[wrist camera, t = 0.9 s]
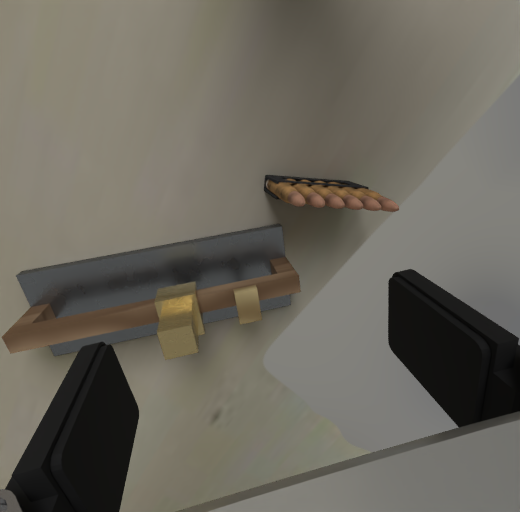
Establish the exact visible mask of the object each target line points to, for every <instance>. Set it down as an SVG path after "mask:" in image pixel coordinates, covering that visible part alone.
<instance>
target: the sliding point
mask: <svg viewBox="0 0 520 512" xmlns="http://www.w3.org/2000/svg"><path fill="white" fill-rule="evenodd" d="M154 303H155V307H156V310H157V313H158V317H159V325H158V329H157V335H158V338H159V341H160V345H161V348H162V351H163V354H164V357H165V360H167V359H172V358H176V357H181V356H185V355H189V354H194V353H198V335H203V334H205V328H204V324H203V313H201V311H200V307H199V303H198V299H197V286H196V281H194V282H189V283H184V284H179V285H174V286H169V287H164V288H159V289H158V290H157V294H156V298H155V302H154Z"/></svg>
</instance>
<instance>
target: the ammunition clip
mask: <svg viewBox="0 0 520 512" xmlns="http://www.w3.org/2000/svg"><path fill="white" fill-rule="evenodd" d="M264 191H265V192H267V193H268V194H270V195H271V196H272V197H274V198H275V199H282V200H283V201H284V202H286V203H290V204H292V205H295V206H299V207H301V206H304V205H305V204H309V205H311V206H313V207H317V208H321V207H324V206H325V205H327V206H330V207H332V208H336V209H341V208H343V207H347V208H349V209H354V210H359V209H362V208H364V209H366V210H372V211H377V210H380V209H381V210H383V211H390V212H394V211H398V210H399V207H398V205H397V204H396V203H395V202H393V201H392V200H390V199H388V198H385V197H383V196H381V195H380V194H379V193H377V192H374V191H371V190H368V187H366V186H362V185H359V184H356V183H353V182H350V181H340V180H326V179H313V178H300V177H286V176H273V175H266V176H265V185H264Z"/></svg>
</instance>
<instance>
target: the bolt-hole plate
mask: <svg viewBox="0 0 520 512" xmlns="http://www.w3.org/2000/svg"><path fill="white" fill-rule="evenodd" d="M282 257H285V249H284V240H283V232H282V226H281V225H280V224H276V225H270V226H265V227H259V228H254V229H249V230H243V231H238V232H232V233H227V234H221V235H216V236H211V237H205V238H200V239H194V240H189V241H184V242H178V243H173V244H167V245H162V246H156V247H151V248H146V249H140V250H135V251H129V252H124V253H119V254H113V255H108V256H102V257H97V258H91V259H86V260H81V261H75V262H70V263H64V264H59V265H54V266H48V267H43V268H37V269H32V270H26V271H22V272H20V273H19V274H18V275H16V277H17V279H18V281H19V283H20V285H21V287H22V289H23V291H24V294H25V296H26V298H27V300H28V302H29V304H30V306H31V307H34V306H39V305H44V304H49V303H50V306H51V308H52V310H53V312H54V315H55V317H56V319H57V318H61V317H66V316H71V315H76V314H81V313H86V312H91V311H96V310H101V309H106V308H111V307H116V306H120V305H125V304H130V303H135V302H140V301H145V300H150V299H155V298H156V294H157V290H158V289H159V288H164V287H169V286H174V285H179V284H184V283H189V282H194V281H196V286H197V290H199V289H204V288H209V287H214V286H219V285H224V284H228V283H233V282H238V281H243V280H248V279H253V278H258V277H263V276H268V275H272V272H271V265H270V260H272V259H277V258H282ZM259 304H260V310H261V311H265V310H269V309H274V308H279V307H283V306H288V305H291V302H290V294H289V295H284V296H279V297H275V298H270V299H265V300H260V301H259ZM237 316H238V311H237V306H232V307H227V308H223V309H218V310H213V311H209V312H204V313H203V324H205V323H209V322H214V321H219V320H223V319H228V318H232V317H237ZM158 325H159V322H157V323H152V324H148V325H143V326H138V327H133V328H129V329H124V330H119V331H115V332H110V333H105V334H100V335H96V336H91V337H86V338H82V339H77V340H72V341H68V342H63V343H58V344H53V345H49V346H50V348H51V350H52V352H53V354H54V356H57V355H62V354H66V353H71V352H76V351H80V349H81V348H82V347H83V346H85V345H90V344H94V343H98V342H104V343H105V344H106V345H108V344H112V343H117V342H122V341H126V340H131V339H136V338H140V337H145V336H149V335H154V334H157V329H158Z"/></svg>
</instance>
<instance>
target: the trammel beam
mask: <svg viewBox="0 0 520 512" xmlns="http://www.w3.org/2000/svg"><path fill="white" fill-rule="evenodd" d="M270 265H271V272H272V275H268V276H263V277H258V278H253V279H248V280H243V281H238V282H233V283H228V284H224V285H219V286H214V287H209V288H204V289H199V290H197V299H198V303H199V307H200V311H201V313H204V312H209V311H213V310H218V309H223V308H227V307H232V306H237V311H238V317H239V322H240V325H241V324H245V323H250V322H255V321H259V320H262V316H261V310H260V304H259V301H260V300H265V299H270V298H275V297H279V296H284V295H289V294H293V293H298V292H300V281H299V275H298V274H297V272H296V271H295V270H294V268H293V267H292V265H291V264H290V263H289V261H288V260H287V258H286V257H282V258H277V259H272V260H270ZM154 302H155V299H150V300H145V301H140V302H135V303H130V304H125V305H120V306H116V307H111V308H106V309H101V310H96V311H91V312H86V313H81V314H76V315H71V316H66V317H61V318H57V319H56V317H55V315H54V312H53V310H52V308H51V306H50V303H49V304H44V305H39V306H34V307H31V308H30V309H29V310H28V311H27V312H26V313H25V314H24V315H23V316H22V317H21V318H20V319H19V320H18V321H17V322H16V323H15V324H14V325H13V326H12V327H11V328H10V329H9V330H8V331H7V332H6V333H5V334H4V335H3V336H2V339H3V340H4V342H5V344H6V346H7V348H8V350H9V352H10V353H16V352H20V351H25V350H30V349H35V348H39V347H44V346H49V345H53V344H58V343H63V342H68V341H72V340H77V339H82V338H86V337H91V336H96V335H100V334H105V333H110V332H115V331H119V330H124V329H129V328H133V327H138V326H143V325H148V324H152V323H157V322H159V317H158V313H157V310H156V307H155V303H154Z"/></svg>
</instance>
